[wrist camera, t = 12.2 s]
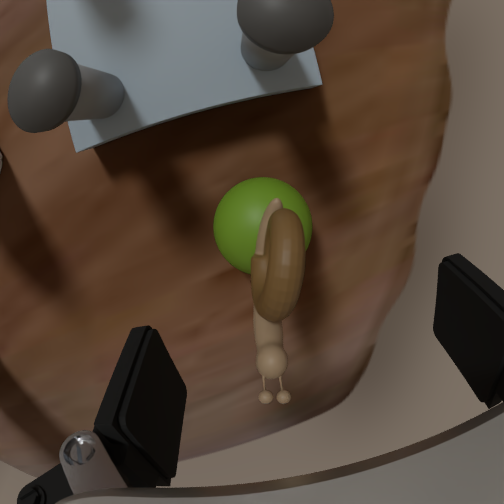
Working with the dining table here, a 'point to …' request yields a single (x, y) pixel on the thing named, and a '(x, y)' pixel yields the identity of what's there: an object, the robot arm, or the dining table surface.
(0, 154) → the photo printer
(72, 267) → the dining table surface
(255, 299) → the snail figurine
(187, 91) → the stool frame
